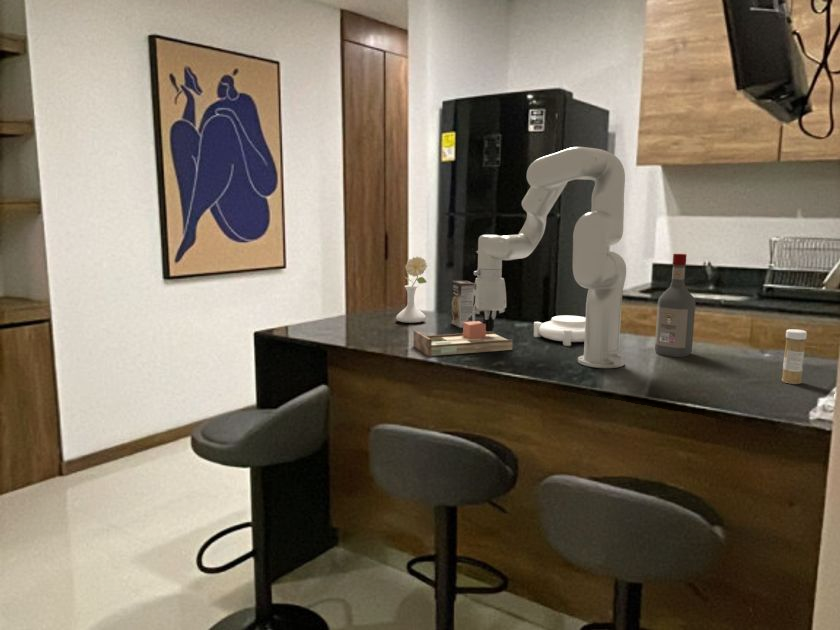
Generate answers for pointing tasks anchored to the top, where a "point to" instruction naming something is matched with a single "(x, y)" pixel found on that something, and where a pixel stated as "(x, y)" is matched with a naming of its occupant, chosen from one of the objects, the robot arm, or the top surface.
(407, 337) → the top surface
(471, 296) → the coffee box
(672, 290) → the liquor
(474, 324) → the block
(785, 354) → the sprinkles bottle
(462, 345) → the board
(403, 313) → the flower in vase
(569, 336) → the round stand with pegs
